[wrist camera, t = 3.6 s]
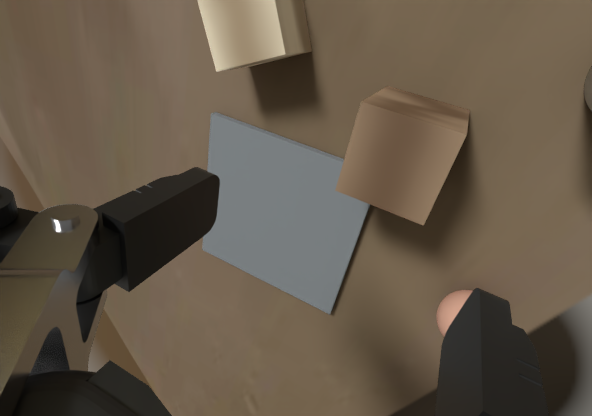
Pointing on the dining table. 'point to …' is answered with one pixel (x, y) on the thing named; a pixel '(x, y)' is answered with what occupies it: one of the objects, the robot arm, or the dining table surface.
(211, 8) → the beech block
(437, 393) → the robot arm
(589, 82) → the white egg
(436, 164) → the walnut block
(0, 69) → the dining table surface
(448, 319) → the terracotta ball
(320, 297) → the mat
